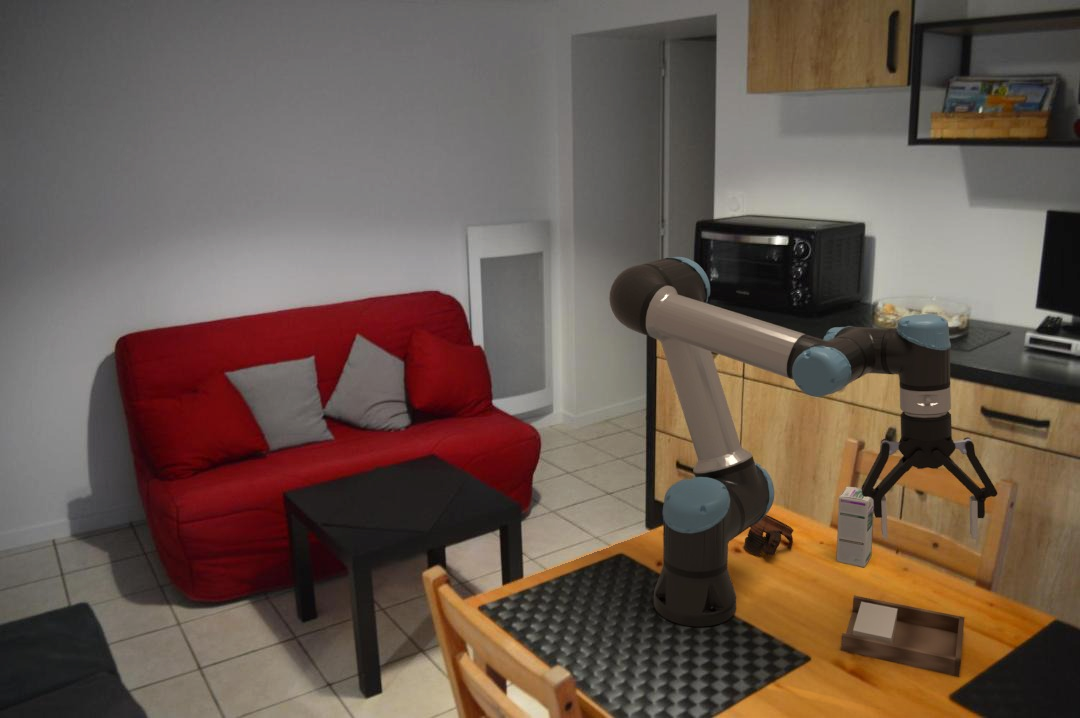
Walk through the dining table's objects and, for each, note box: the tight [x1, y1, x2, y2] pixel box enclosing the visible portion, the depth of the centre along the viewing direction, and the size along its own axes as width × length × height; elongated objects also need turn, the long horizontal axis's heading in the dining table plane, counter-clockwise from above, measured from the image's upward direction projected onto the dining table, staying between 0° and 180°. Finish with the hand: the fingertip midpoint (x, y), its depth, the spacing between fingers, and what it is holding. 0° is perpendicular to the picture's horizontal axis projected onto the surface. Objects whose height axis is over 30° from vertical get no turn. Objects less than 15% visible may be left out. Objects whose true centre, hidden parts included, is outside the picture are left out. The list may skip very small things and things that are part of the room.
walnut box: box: [840, 595, 965, 678], centre depth 151 cm, size 18×14×4 cm
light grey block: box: [853, 602, 898, 643], centre depth 153 cm, size 6×10×3 cm, turn 153°
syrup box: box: [836, 486, 874, 568], centre depth 180 cm, size 6×6×14 cm
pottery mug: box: [743, 514, 794, 558], centre depth 186 cm, size 12×10×8 cm
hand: (928, 535), depth 148 cm, fingers open, 13 cm apart
